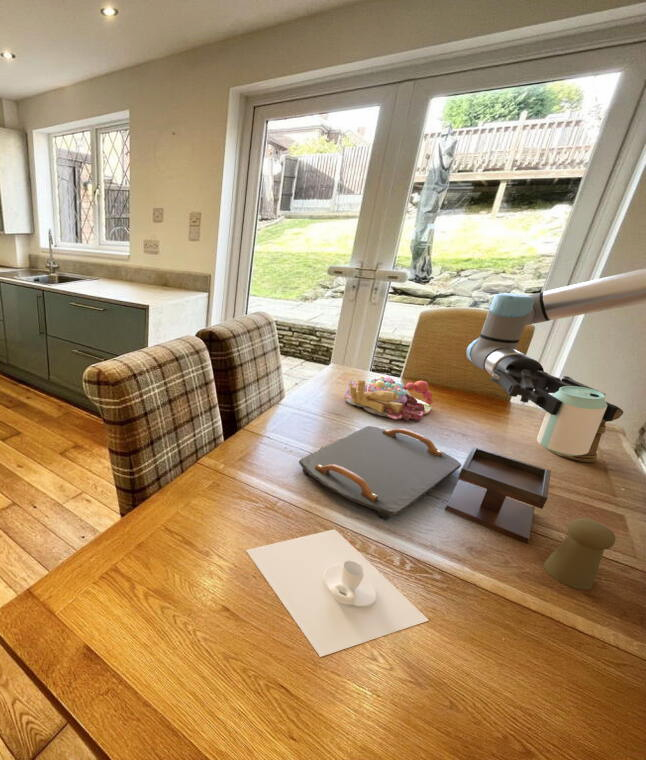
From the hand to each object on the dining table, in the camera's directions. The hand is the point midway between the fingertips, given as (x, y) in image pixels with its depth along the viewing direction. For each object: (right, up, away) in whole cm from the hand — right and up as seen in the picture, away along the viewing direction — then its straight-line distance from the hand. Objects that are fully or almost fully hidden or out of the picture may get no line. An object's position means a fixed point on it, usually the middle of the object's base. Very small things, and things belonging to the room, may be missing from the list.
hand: (583, 411), depth 71 cm
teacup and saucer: (-49, -29, -5) cm, 57 cm away
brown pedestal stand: (-7, -22, +12) cm, 26 cm away
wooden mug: (+33, -15, +32) cm, 48 cm away
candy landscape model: (+2, -3, +60) cm, 60 cm away
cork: (-6, -28, -3) cm, 29 cm away
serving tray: (-23, -17, +25) cm, 38 cm away
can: (+1, -8, +5) cm, 9 cm away
